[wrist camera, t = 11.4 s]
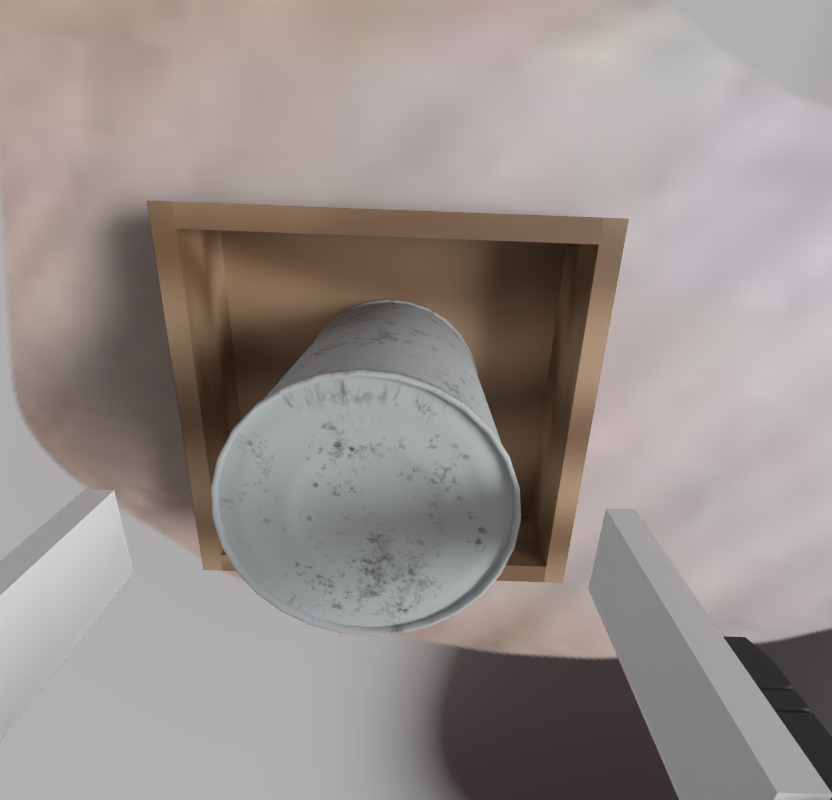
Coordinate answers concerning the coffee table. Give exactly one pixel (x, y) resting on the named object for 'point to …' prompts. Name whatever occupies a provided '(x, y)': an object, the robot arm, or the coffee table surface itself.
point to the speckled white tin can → (370, 479)
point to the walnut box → (405, 281)
